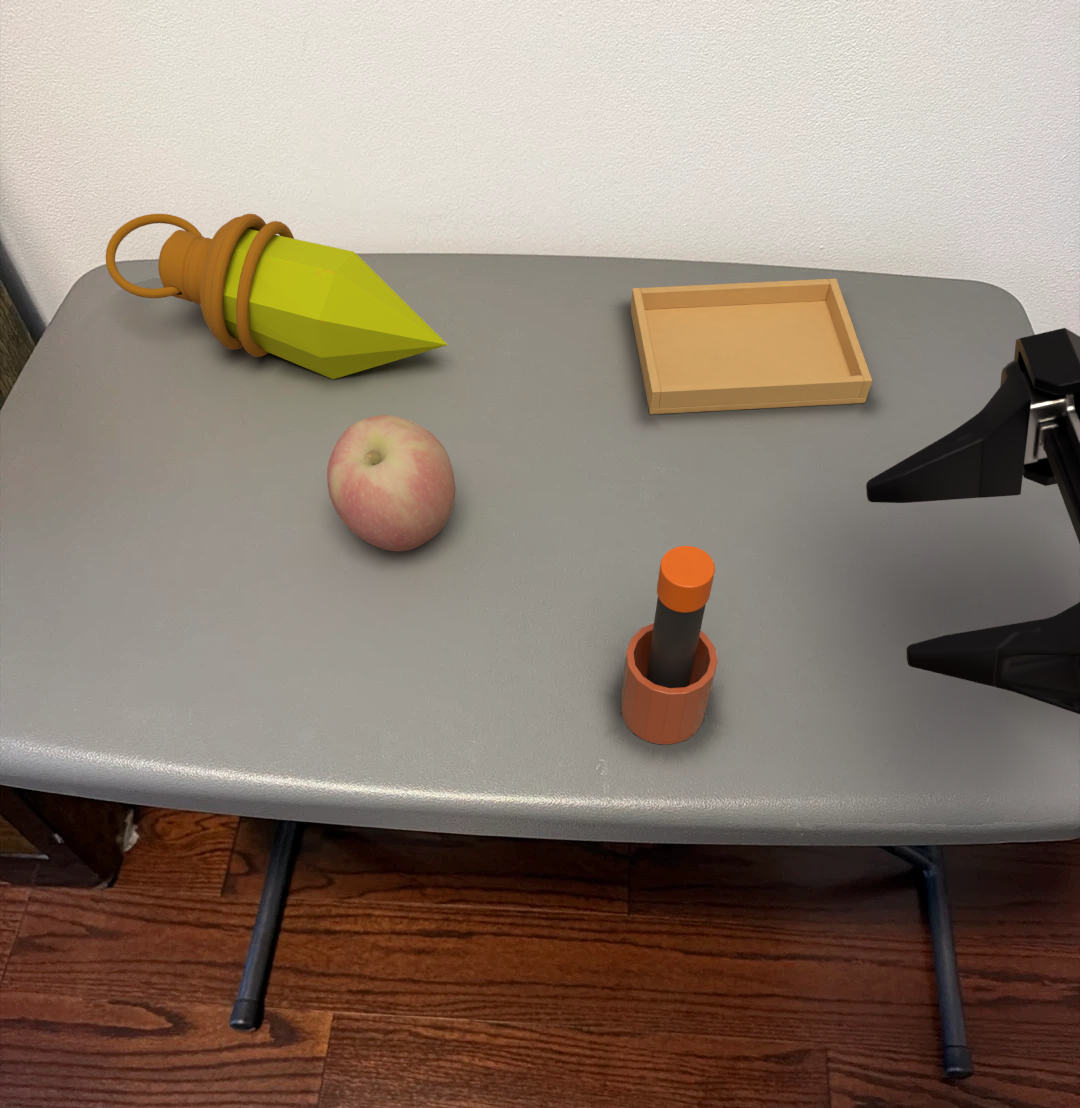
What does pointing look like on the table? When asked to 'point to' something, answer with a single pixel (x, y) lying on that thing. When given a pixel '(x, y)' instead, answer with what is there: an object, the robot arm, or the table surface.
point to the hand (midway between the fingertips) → (885, 569)
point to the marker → (679, 615)
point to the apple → (391, 482)
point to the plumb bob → (283, 295)
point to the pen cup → (665, 693)
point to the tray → (747, 346)
